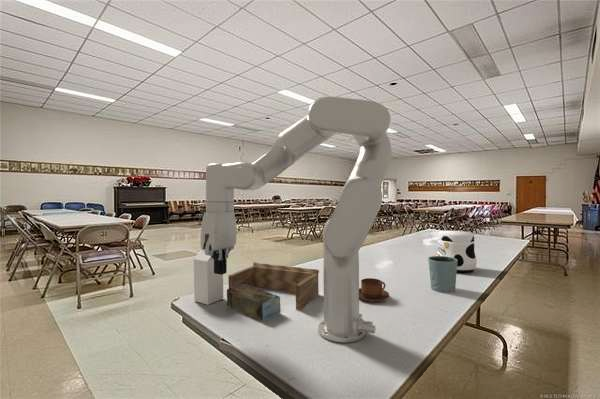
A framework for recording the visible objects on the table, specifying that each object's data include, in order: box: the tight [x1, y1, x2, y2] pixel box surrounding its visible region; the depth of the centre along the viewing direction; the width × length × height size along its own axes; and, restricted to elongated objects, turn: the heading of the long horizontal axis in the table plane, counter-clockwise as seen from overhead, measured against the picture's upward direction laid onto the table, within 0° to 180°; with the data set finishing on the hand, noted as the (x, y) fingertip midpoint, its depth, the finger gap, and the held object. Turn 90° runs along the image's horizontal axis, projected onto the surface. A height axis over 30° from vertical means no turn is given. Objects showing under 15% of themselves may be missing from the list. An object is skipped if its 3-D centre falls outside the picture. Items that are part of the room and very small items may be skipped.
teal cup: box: [427, 255, 458, 294], centre depth 112 cm, size 10×10×12 cm
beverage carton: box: [226, 284, 281, 322], centre depth 94 cm, size 8×19×6 cm, turn 48°
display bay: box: [227, 261, 320, 311], centre depth 107 cm, size 29×16×9 cm, turn 64°
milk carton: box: [193, 247, 224, 306], centre depth 103 cm, size 7×7×19 cm
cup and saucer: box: [359, 277, 390, 303], centre depth 104 cm, size 12×12×6 cm
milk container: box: [435, 230, 478, 273], centre depth 141 cm, size 17×17×18 cm
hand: (220, 273), depth 81 cm, fingers closed
